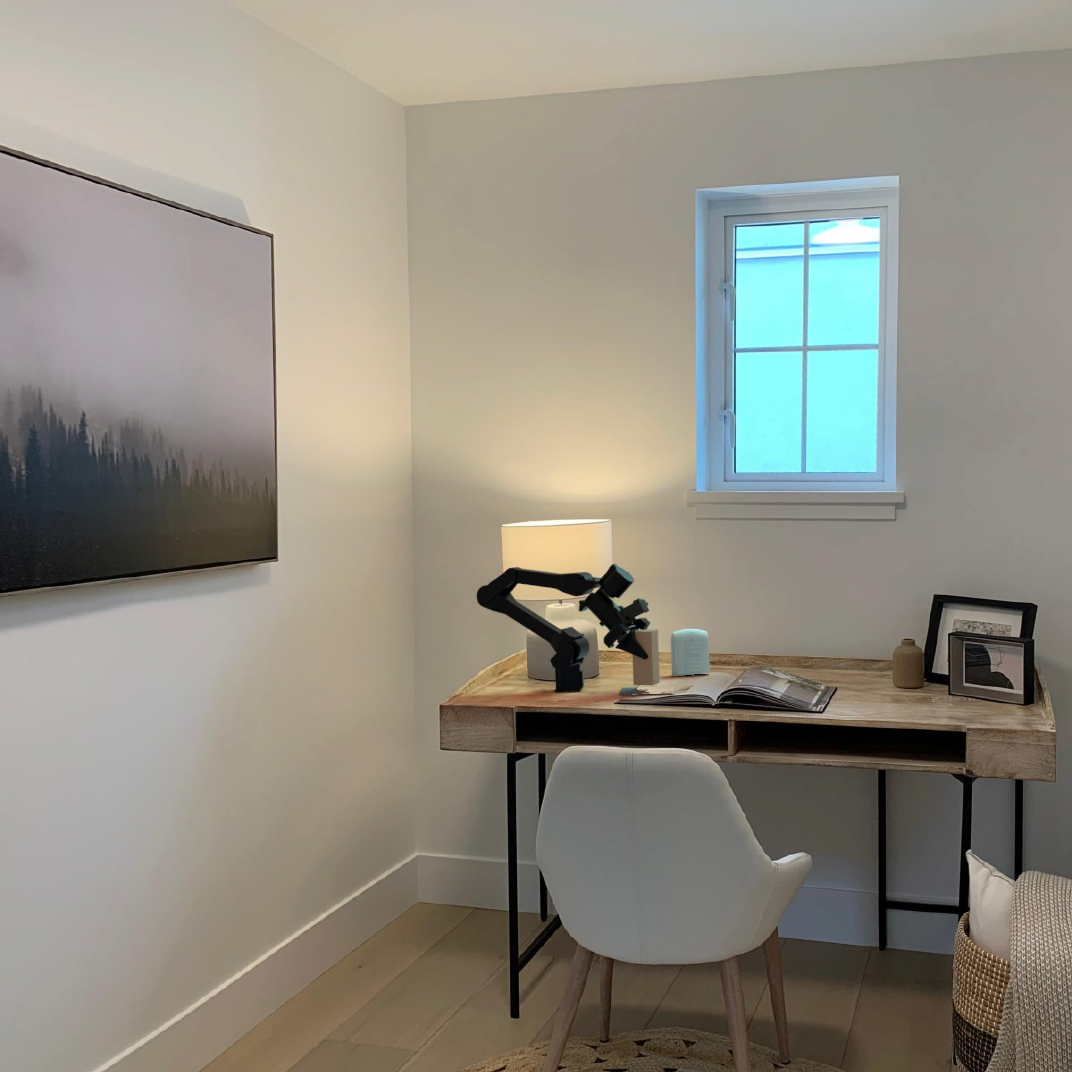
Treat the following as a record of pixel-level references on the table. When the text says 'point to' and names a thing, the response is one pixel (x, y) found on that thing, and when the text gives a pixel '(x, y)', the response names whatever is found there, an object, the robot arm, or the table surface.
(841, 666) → the table surface
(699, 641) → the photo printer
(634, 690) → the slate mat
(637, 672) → the beige rectangular block
